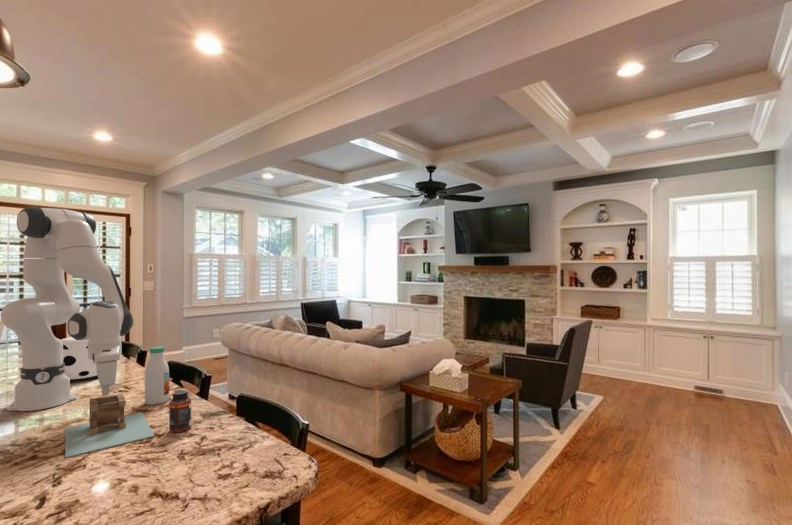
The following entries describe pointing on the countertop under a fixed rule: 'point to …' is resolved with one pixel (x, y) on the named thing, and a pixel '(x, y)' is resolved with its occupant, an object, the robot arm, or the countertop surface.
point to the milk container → (77, 360)
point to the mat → (105, 436)
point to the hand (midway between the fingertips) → (105, 394)
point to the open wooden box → (107, 413)
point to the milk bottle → (156, 378)
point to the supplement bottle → (180, 412)
